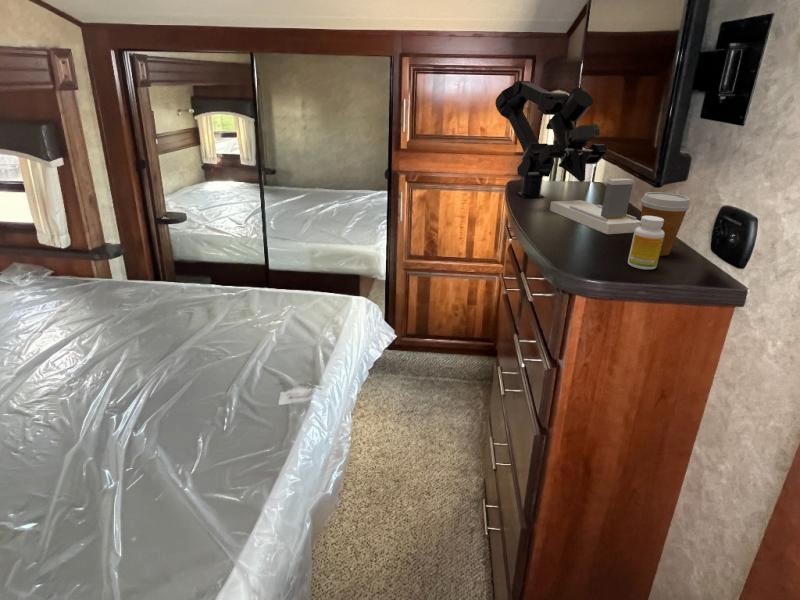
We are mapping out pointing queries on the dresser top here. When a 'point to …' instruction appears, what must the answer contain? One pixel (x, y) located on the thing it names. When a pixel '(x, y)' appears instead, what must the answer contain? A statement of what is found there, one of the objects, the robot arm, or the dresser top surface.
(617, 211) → the fader tab
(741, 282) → the dresser top surface
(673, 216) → the disposable coffee cup
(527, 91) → the robot arm
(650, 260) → the supplement bottle
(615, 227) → the white slider track base
